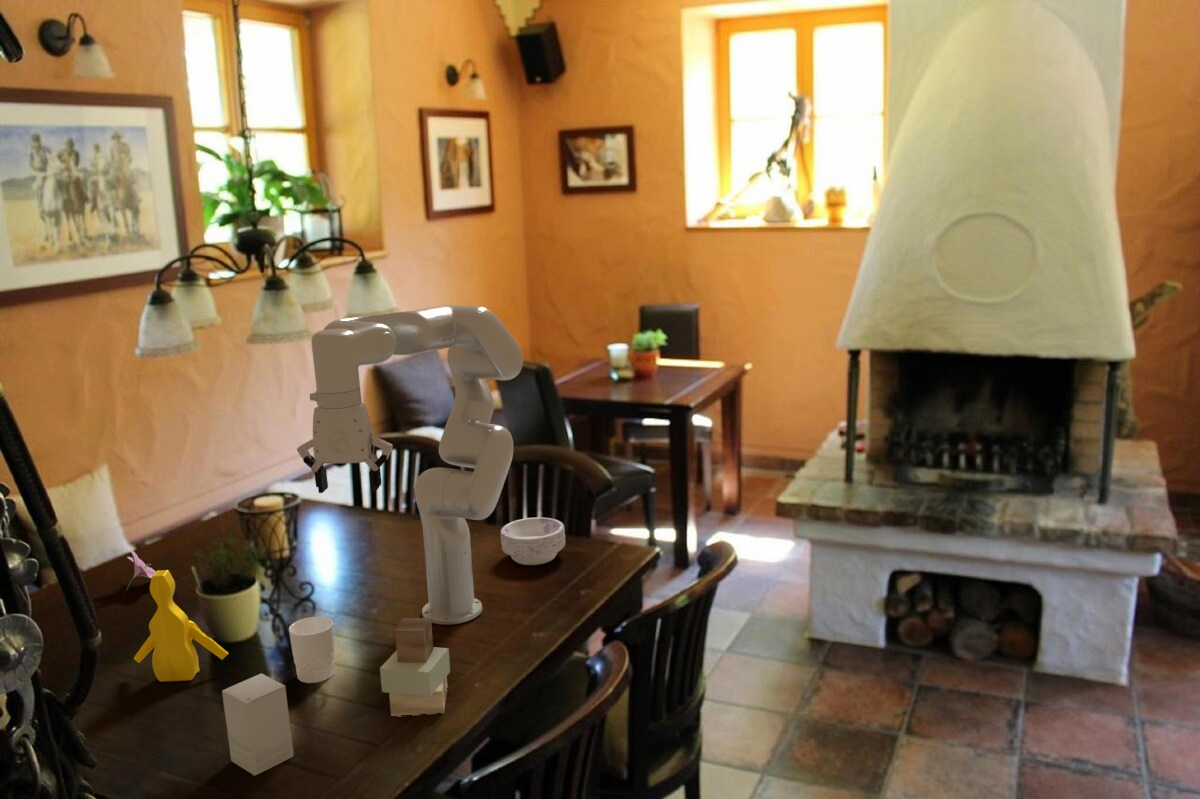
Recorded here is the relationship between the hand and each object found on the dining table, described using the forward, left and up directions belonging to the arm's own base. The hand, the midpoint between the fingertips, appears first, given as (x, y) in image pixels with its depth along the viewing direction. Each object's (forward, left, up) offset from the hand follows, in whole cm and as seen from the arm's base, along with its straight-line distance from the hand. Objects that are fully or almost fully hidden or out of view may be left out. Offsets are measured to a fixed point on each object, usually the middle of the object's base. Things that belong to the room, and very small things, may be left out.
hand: (349, 490), depth 189 cm
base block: (+12, +14, -36) cm, 40 cm away
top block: (+12, +14, -31) cm, 36 cm away
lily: (-36, -65, -36) cm, 83 cm away
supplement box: (+31, -7, -36) cm, 48 cm away
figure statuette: (+5, -35, -36) cm, 50 cm away
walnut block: (+11, +14, -27) cm, 32 cm away
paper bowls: (-56, +22, -36) cm, 70 cm away
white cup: (+3, -9, -36) cm, 37 cm away
